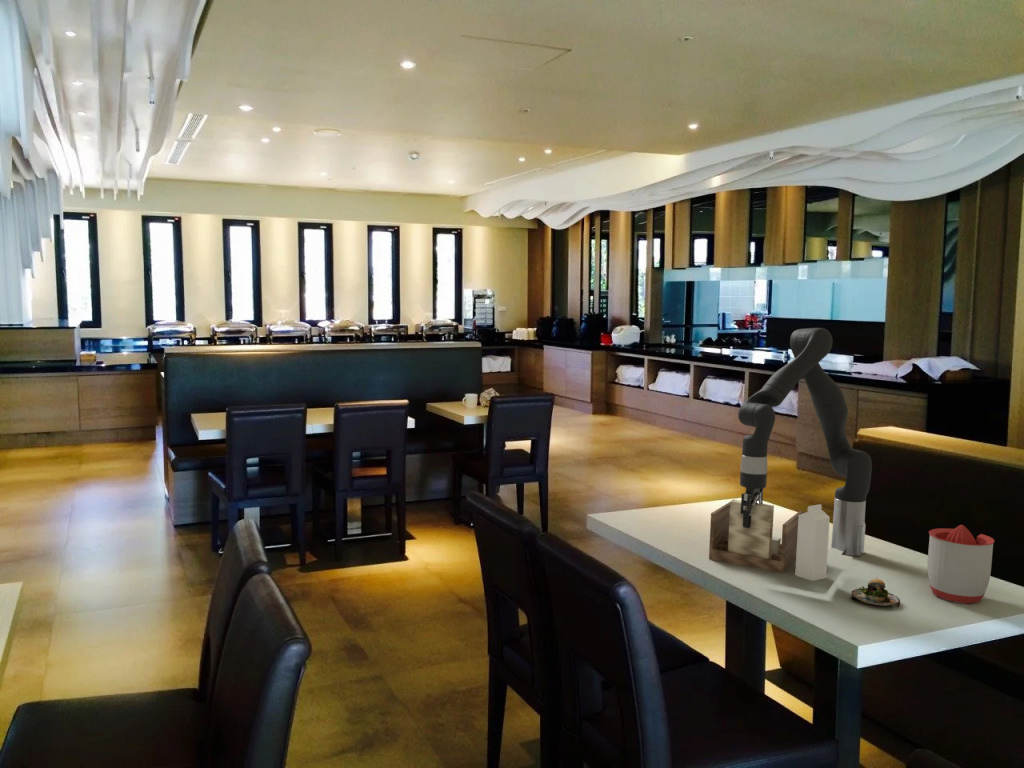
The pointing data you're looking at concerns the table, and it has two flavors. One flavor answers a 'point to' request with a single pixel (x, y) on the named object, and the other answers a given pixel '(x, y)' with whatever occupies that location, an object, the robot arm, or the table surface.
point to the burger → (875, 594)
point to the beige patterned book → (751, 531)
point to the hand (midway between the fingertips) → (750, 524)
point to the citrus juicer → (959, 564)
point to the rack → (720, 553)
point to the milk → (812, 544)
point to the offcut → (775, 545)
